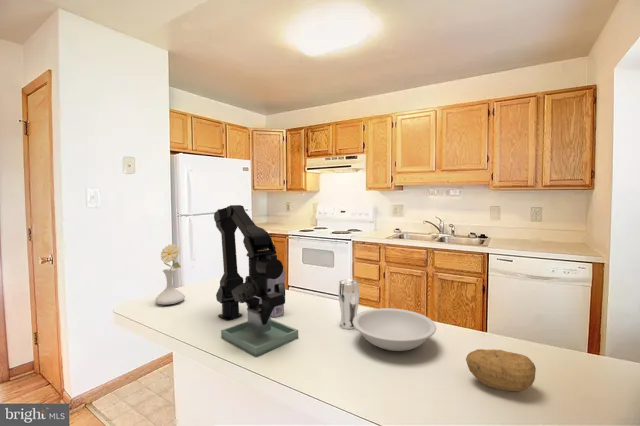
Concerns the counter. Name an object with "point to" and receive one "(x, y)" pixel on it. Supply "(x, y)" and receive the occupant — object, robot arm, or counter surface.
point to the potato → (501, 369)
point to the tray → (259, 337)
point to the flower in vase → (170, 277)
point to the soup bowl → (394, 328)
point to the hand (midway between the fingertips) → (259, 322)
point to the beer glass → (348, 302)
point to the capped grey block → (257, 321)
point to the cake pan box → (278, 287)
